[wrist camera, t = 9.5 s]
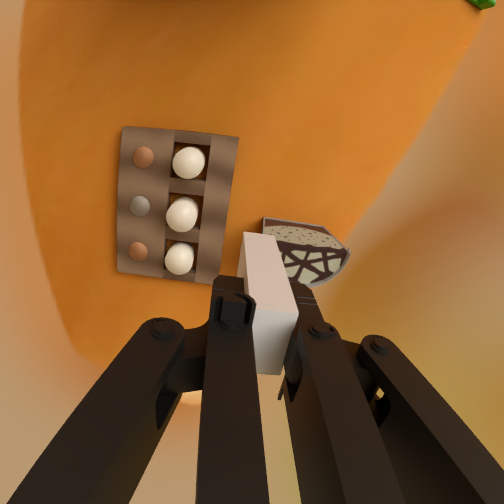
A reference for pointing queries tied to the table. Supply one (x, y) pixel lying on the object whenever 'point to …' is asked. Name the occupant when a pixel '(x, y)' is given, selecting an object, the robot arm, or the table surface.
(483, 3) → the green ring bracket
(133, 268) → the board
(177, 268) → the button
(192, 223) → the button mid
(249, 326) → the robot arm
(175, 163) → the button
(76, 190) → the table surface
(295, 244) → the food container
